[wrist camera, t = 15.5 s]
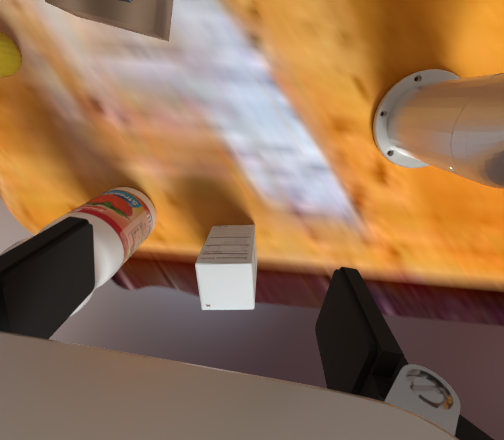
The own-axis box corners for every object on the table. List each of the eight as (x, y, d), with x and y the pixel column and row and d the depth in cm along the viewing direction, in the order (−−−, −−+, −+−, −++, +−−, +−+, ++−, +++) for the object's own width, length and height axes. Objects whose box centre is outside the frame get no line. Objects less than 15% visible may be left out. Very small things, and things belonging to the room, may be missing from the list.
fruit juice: (113, 242, 49) (-59, 398, 23) (92, 190, 45) (-139, 305, 19) (165, 234, 48) (45, 388, 22) (147, 180, 44) (-21, 288, 18)
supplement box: (257, 262, 49) (255, 311, 37) (215, 262, 49) (199, 311, 38) (256, 222, 46) (253, 263, 34) (211, 223, 47) (193, 263, 35)
